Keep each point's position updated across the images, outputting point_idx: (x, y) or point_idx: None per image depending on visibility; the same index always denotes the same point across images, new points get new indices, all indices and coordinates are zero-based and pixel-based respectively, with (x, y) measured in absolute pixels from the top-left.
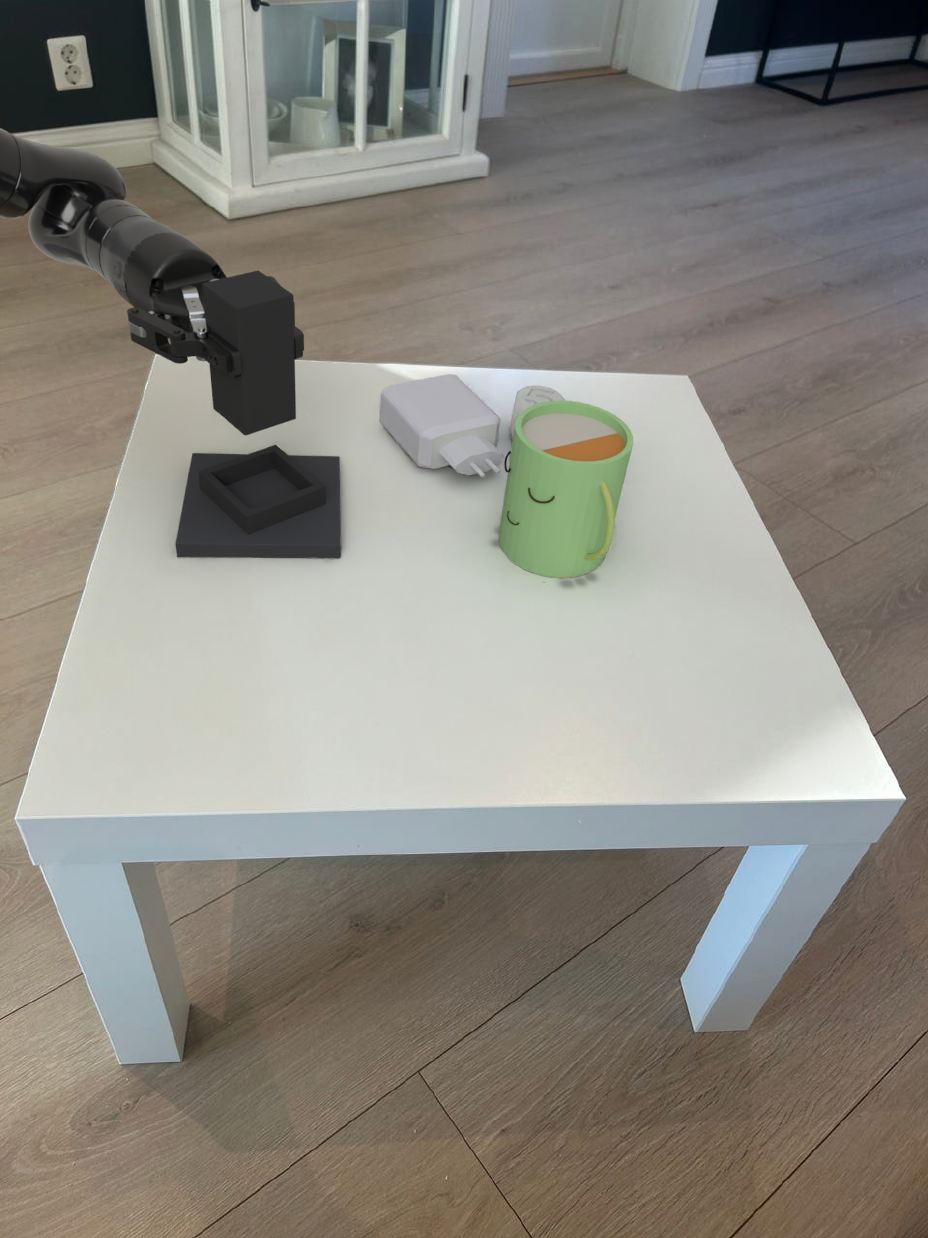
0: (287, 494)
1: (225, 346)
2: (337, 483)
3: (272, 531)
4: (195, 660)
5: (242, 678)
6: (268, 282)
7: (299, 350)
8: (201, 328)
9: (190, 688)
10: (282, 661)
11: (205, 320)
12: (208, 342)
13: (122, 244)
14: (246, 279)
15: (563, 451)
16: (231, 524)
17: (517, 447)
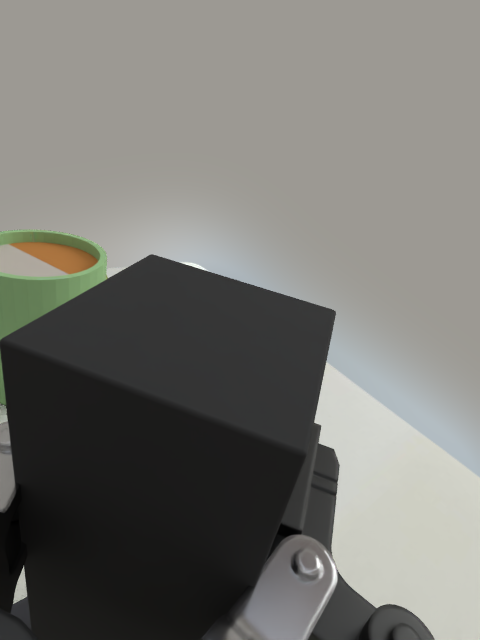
0: None
1: (311, 450)
2: (15, 607)
3: None
4: (416, 578)
5: (387, 520)
6: (112, 295)
7: None
8: (310, 558)
9: (438, 556)
10: (343, 501)
11: (235, 608)
12: (313, 529)
13: None
14: (132, 342)
15: (66, 266)
16: None
17: (74, 289)
